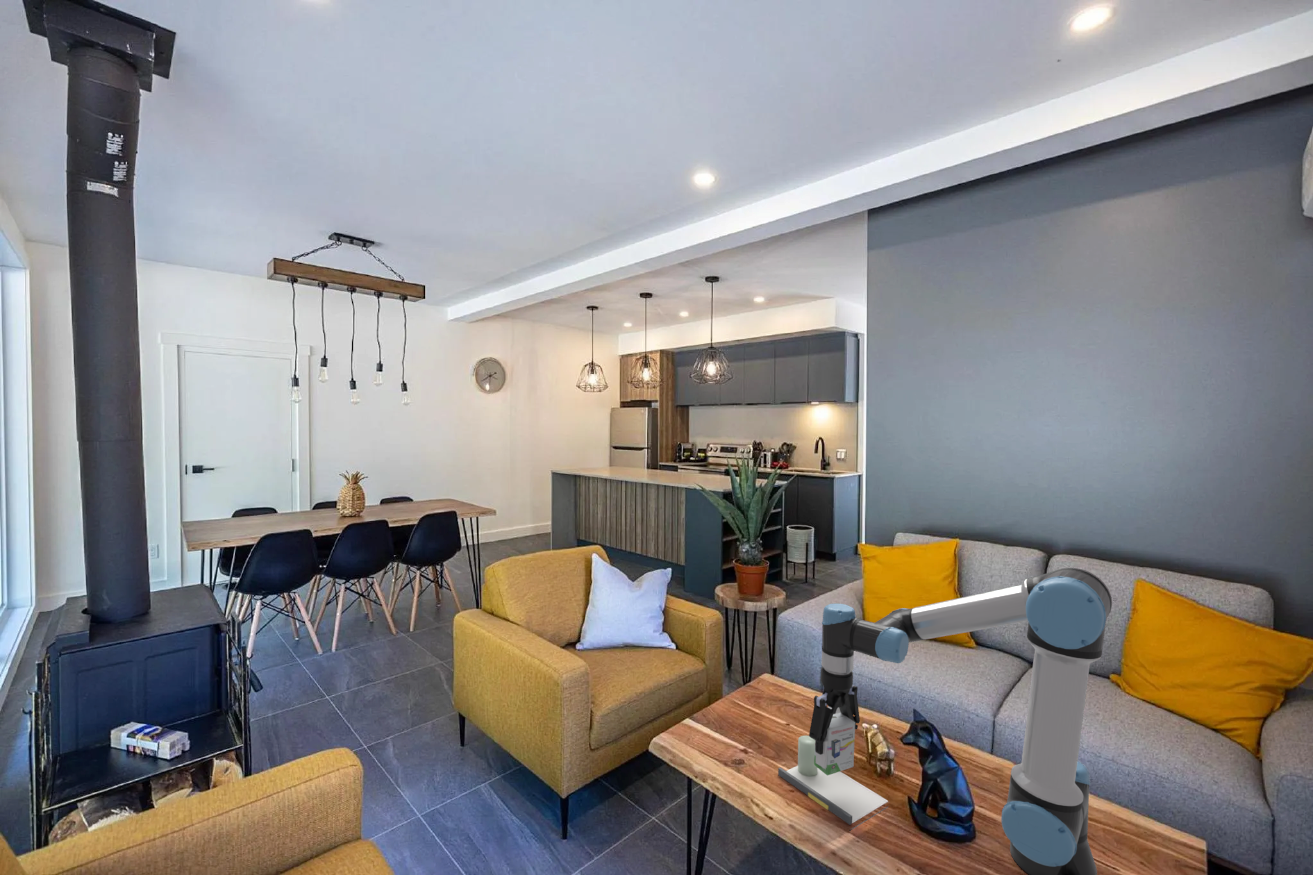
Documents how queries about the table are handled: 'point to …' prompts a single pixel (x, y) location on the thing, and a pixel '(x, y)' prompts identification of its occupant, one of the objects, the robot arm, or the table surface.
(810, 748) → the sage canister
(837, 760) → the ink box
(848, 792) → the shelf board
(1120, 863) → the table surface
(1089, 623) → the robot arm
